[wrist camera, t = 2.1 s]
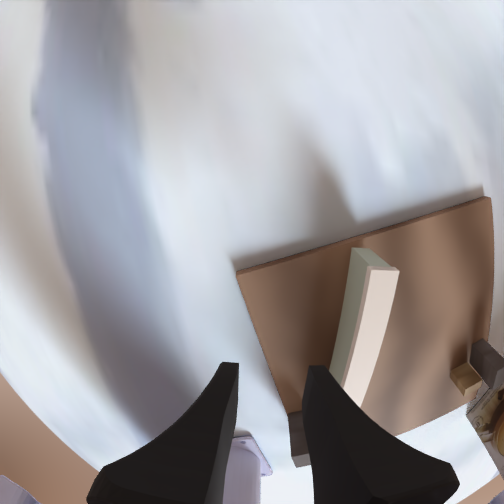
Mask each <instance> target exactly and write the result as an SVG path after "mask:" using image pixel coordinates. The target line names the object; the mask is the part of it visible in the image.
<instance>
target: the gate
mask: <svg viewBox="0 0 504 504" xmlns="http://www.w3.org/2000/svg"><path fill="white" fill-rule="evenodd" d="M398 276H399V270H398V269H397V268H395V267H391V266H390V265H389V264H388V263H386V262H385V261H384V260H383V259H382V258H380V257H379V256H378V255H377V254H376V253H374V252H373V251H372V250H371V249H370V248H353V247H352V249H351V256H350V264H349V270H348V277H347V283H346V289H345V295H344V301H343V306H342V312H341V317H340V322H339V327H338V332H337V337H336V342H335V347H334V351H333V356H332V360H331V364H330V369H329V372H330V373H331V374H332V376H333V377H334V378H335V379H336V381H337V382H338V383H339V384H340V386H341V387H342V388H343V389H344V391H345V392H346V393H347V394H348V395H349V396H350V398H351V399H352V400H353V401H354V402H355V403H356V404H357V405H358V406H359V407H361V404H362V402H363V399H364V396H365V394H366V391H367V388H368V385H369V382H370V379H371V377H372V374H373V371H374V367H375V364H376V361H377V358H378V355H379V352H380V348H381V345H382V341H383V338H384V334H385V331H386V327H387V323H388V319H389V316H390V312H391V307H392V303H393V299H394V295H395V290H396V286H397V281H398Z"/></svg>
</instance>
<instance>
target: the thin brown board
mask: <svg viewBox="0 0 504 504" xmlns="http://www.w3.org/2000/svg"><path fill="white" fill-rule="evenodd" d="M352 247H353V248H370V249H371V250H372V251H373V252H374V253H376V254H377V255H378V256H379V257H380V258H382V259H383V260H384V261H385V262H386V263H388V264H389V265H390V266H391V267H395V268H397V269H398V270H399V276H398V281H397V286H396V290H395V295H394V299H393V303H392V307H391V312H390V316H389V319H388V323H387V327H386V331H385V334H384V338H383V341H382V345H381V348H380V352H379V355H378V358H377V361H376V364H375V367H374V371H373V374H372V377H371V379H370V382H369V385H368V388H367V391H366V394H365V396H364V399H363V402H362V404H361V407H360V408H361V409H362V410H363V411H364V412H365V413H366V414H367V415H368V416H369V417H370V418H371V419H372V420H373V421H374V422H376V423H377V424H378V425H379V426H381V427H382V428H383V429H384V430H386V431H387V432H389V433H390V434H391V435H393V436H397V435H400V434H402V433H405V432H407V431H410V430H412V429H414V428H417V427H419V426H421V425H424V424H426V423H428V422H430V421H432V420H435V419H437V418H439V417H441V416H443V415H445V414H447V413H449V412H451V411H453V410H455V409H457V408H459V407H460V406H462V405H464V404H466V403H468V402H470V401H471V400H473V399H475V398H476V395H477V391H478V389H479V388H480V387H481V384H482V379H483V380H484V381H485V382H486V383H487V385H488V386H489V387H490V388H491V389H492V390H494V389H495V388H497V387H498V386H500V385H501V384H503V382H504V358H503V357H502V356H501V355H500V354H499V353H498V352H497V351H496V350H495V349H494V348H493V347H491V346H490V345H489V344H488V343H487V342H488V336H489V328H490V320H491V311H492V300H493V284H494V230H493V214H492V203H491V198H490V197H486V196H484V197H481V198H478V199H475V200H472V201H469V202H466V203H462V204H459V205H456V206H453V207H450V208H447V209H444V210H440V211H437V212H434V213H431V214H428V215H424V216H421V217H418V218H415V219H412V220H408V221H405V222H402V223H399V224H395V225H392V226H389V227H386V228H382V229H379V230H376V231H373V232H369V233H366V234H363V235H359V236H356V237H353V238H349V239H346V240H343V241H339V242H336V243H333V244H329V245H326V246H323V247H319V248H316V249H313V250H309V251H306V252H302V253H299V254H296V255H292V256H289V257H285V258H282V259H278V260H275V261H272V262H268V263H265V264H261V265H258V266H254V267H251V268H247V269H244V270H240V271H237V272H236V278H237V281H238V284H239V287H240V289H241V292H242V295H243V298H244V301H245V303H246V306H247V309H248V312H249V314H250V317H251V320H252V323H253V325H254V328H255V331H256V334H257V336H258V339H259V342H260V344H261V347H262V350H263V352H264V355H265V358H266V361H267V363H268V366H269V368H270V371H271V374H272V376H273V379H274V382H275V384H276V387H277V390H278V392H279V395H280V397H281V400H282V403H283V405H284V408H285V410H286V413H287V416H288V421H289V433H290V445H291V457H292V459H293V462H294V464H295V466H296V468H297V467H302V466H307V465H311V462H310V456H309V451H308V446H307V441H306V436H305V431H304V426H303V416H302V398H303V393H304V388H305V383H306V378H307V373H308V368H309V365H325V367H326V368H327V369H328V370H329V369H330V364H331V360H332V356H333V351H334V347H335V342H336V337H337V332H338V327H339V322H340V317H341V312H342V306H343V301H344V295H345V289H346V283H347V277H348V270H349V264H350V256H351V249H352ZM481 377H482V379H481Z"/></svg>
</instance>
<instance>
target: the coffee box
mask: <svg viewBox="0 0 504 504" xmlns="http://www.w3.org/2000/svg"><path fill="white" fill-rule="evenodd" d="M466 417H467V418H468V420H469V421H470V423H471V424H472V426H473V428H474V429H475V431H476V432H477V434H478V436H479V437H480V439H481V441H482V442H483V444H484V446H485V447H486V449H487V451H488V453H489V454H490V456H491V458H492V460H493V461H494V463H495V465H496V467H497V469H498V470H499V472H500V474H501V476H502V478H503V479H504V382H503V384H501V385H500V386H498V387H497V388H495V389H494V390H492V389H491V388H490V389H489V390H488V391H487V392H486V393H485V395H484V396H483V397H482V398H481V399H480V401H479V402H478V403H477V404H476V405H475V406H474V408H473V409H472V410H471V411H470V412H469V413H468V414H467V416H466Z"/></svg>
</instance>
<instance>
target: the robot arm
mask: <svg viewBox="0 0 504 504" xmlns="http://www.w3.org/2000/svg"><path fill="white" fill-rule="evenodd" d="M238 379H239V363H231V362H222V363H221V364H220V365H219V367H218V369H217V371H216V373H215V375H214V376H213V378H212V379H211V381H210V382H209V384H208V385H207V387H206V388H205V389H204V391H203V392H202V393H201V395H200V396H199V397H198V399H197V400H196V401H195V402H194V403H193V404H192V405H191V407H190V408H189V409H188V410H187V411H186V412H185V413H184V414H183V415H182V416H181V417H180V418H179V419H178V420H177V421H176V422H175V423H174V424H173V425H172V426H170V427H169V428H168V429H167V430H165V431H164V432H163V433H162V434H160V435H159V436H158V437H157V438H155V439H154V440H152V441H151V442H149V443H148V444H146V445H145V446H143V447H141V448H140V449H138V450H136V451H135V452H133V453H131V454H130V455H128V456H126V457H124V458H121V459H119V460H117V461H115V462H113V463H111V464H108V465H106V466H104V467H103V468H102V469H101V471H100V472H99V474H98V475H97V477H96V478H95V480H94V482H93V484H92V487H91V489H90V491H89V493H88V496H87V499H86V500H87V503H88V504H260V494H261V477H262V476H270V475H272V470H271V468H270V466H269V465H268V463H267V461H266V460H265V458H264V456H263V454H262V453H261V451H260V449H259V447H258V446H257V444H256V442H255V440H254V439H253V438H252V437H250V436H246V437H238V438H233V434H234V429H235V425H236V417H237V405H238ZM302 416H303V426H304V431H305V436H306V441H307V446H308V451H309V456H310V462H311V467H312V474H313V487H314V504H444V503H445V502H446V501H447V500H448V499H449V498H450V497H451V496H452V495H453V494H454V493H455V492H456V491H457V489H458V487H459V485H460V483H459V480H458V478H457V476H456V474H455V471H454V470H453V468H452V466H451V464H450V463H448V462H445V461H442V460H439V459H437V458H434V457H431V456H429V455H427V454H424V453H422V452H420V451H418V450H416V449H414V448H412V447H411V446H409V445H407V444H405V443H404V442H402V441H401V440H399V439H397V438H396V437H394V436H393V435H391V434H390V433H389V432H387V431H386V430H384V429H383V428H382V427H381V426H379V425H378V424H377V423H376V422H374V421H373V420H372V419H371V418H370V417H369V416H368V415H367V414H366V413H365V412H364V411H363V410H362V409H361V408H360V407H359V406H358V405H357V404H356V403H355V402H354V401H353V400H352V399H351V398H350V396H349V395H348V394H347V393H346V392H345V391H344V389H343V388H342V387H341V386H340V384H339V383H338V382H337V381H336V379H335V378H334V377H333V376H332V374H331V373H330V372H329V370H328V369H327V368H326V367H325V365H309V368H308V373H307V378H306V383H305V388H304V393H303V398H302ZM0 504H41V503H39V502H37V501H36V499H35V498H34V497H33V496H32V495H31V494H30V493H29V492H27V491H26V490H25V489H23V488H22V487H20V486H19V485H17V484H15V483H14V482H12V481H11V480H10V479H8V478H6V477H5V476H4V475H0ZM488 504H504V490H503V491H502V492H501V493H499V494H498V495H497V496H496V497H494V498H493V499H492V500H491V501H490V503H488Z"/></svg>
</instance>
